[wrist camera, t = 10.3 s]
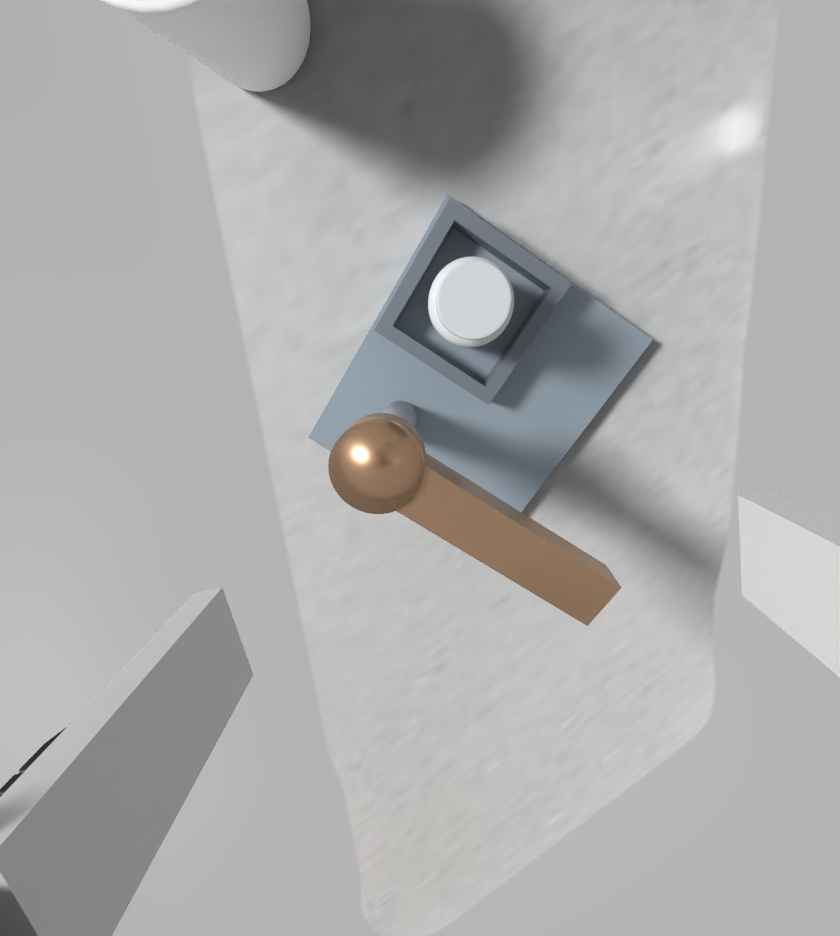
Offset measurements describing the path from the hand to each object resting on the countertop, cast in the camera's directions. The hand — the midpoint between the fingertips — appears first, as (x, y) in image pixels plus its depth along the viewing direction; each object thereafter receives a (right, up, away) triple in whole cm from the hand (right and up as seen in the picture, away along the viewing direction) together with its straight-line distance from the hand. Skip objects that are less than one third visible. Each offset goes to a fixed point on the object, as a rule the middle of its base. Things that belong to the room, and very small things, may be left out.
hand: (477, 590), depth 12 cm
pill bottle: (+1, +13, +17) cm, 21 cm away
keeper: (+1, +1, +10) cm, 10 cm away
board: (+2, +8, +19) cm, 21 cm away
